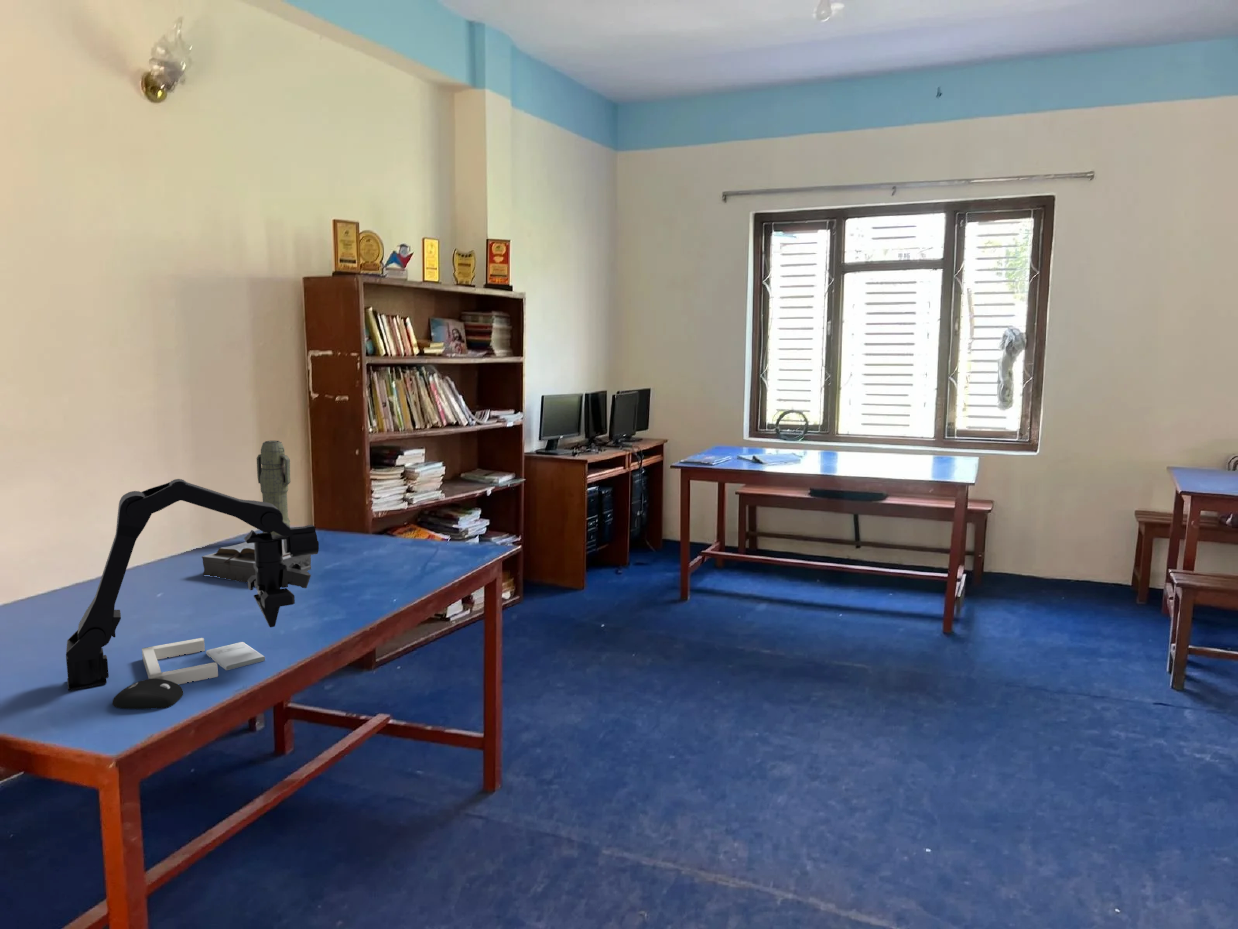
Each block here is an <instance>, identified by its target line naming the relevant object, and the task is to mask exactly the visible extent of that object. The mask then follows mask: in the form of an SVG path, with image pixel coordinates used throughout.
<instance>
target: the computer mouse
mask: <svg viewBox="0 0 1238 929" xmlns="http://www.w3.org/2000/svg"><path fill="white" fill-rule="evenodd" d="M183 696H184V690H183V687H182V686H181V684H179V685H178V684H176V683H174V682H171V681H168V680H164V679H157V678H153V679H149V678H145V679H142V680H139V681H137V682H134V683H132V684H130V685H128V686H127V687H125V688H123V689H122V690H121V691H119V692H118V693H117V694H115V696H113V698H112V702H111V703H112V706H113V707H114V708H116V709H123V710H124V709H127V710H151V708H157V709H167V708H170V707H172V706H174V705H175V704H176V703H177V702H179V700H181V698H182V697H183ZM171 705H172V706H171ZM169 706H170V707H169ZM166 707H167V708H166Z"/></svg>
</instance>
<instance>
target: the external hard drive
mask: <svg viewBox="0 0 1238 929" xmlns="http://www.w3.org/2000/svg"><path fill="white" fill-rule="evenodd" d="M205 654H206V655H207V657H209V658H210V657H211V658H212V659H211V658H210V659H211V660H213V661H214V662H216V663H217V665H218V666H220V667H221V668H223V669H224V670H225V671H229V670H234V669H237V668H242V667H244V666H245V667H246V666H249V665H254V664H257V663H261V662H265V661H266V656H264V655H263V654H262V653H260V652H259V651H257V650H256V649H254V648H252V647H251V646H250V645H248V644H246V643H245V642H244V641H239V642H236V643H232V644H228V645H222V646H219V647H215V648H210V649H207V650H205Z"/></svg>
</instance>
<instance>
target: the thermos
mask: <svg viewBox="0 0 1238 929" xmlns="http://www.w3.org/2000/svg"><path fill="white" fill-rule="evenodd" d="M285 450H286V449H285V447H284V444H283V443H282V441H280V440H265V441H264V442H262V445H261V448H260V453H259V454H258V455H257V457H256V472H257V473H256V474H257V482H258V484H260V492H261V494H262V502H267V503H271V504H273V505H274V506H275V507H276V508H277V509H278V510H279V511H280V512H281V513H282V515H283V522H284V523H286V524H287V525H288V526H289V527H290V528H291V524H290V523H291V521H290V519H289V513H288V511H289V509H288V491H289V485H290V484H291V463H290V462H291V460H290V458H289V456H288V455H286V454H285ZM262 533H266V532H263V531H262ZM270 533H271V535H280V534H278V533H276V532H274V531H273V532H270Z"/></svg>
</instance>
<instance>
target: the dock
mask: <svg viewBox="0 0 1238 929" xmlns="http://www.w3.org/2000/svg"><path fill="white" fill-rule="evenodd" d="M200 651H202V652H206V645H205V638H204V637H199V638H193V639H187V640H182V641H176V642H170V643H165V644H158V645H153V646H148V647H142V648H141V655H142V656H141V657H142V661H143V665H144V669H145V671H146V672H145V673H146V674H147V679H153V678H157V679H164V680H168V681H171V682H174V683H176V684H179V685H185V684H188V683H187V682H189V683H192V681H194V682H198V681H203V680H208V678H209V679H212V678H218V677H219V671H218V668H219V667H218V666H219V665H218V663H216V662H215V661H214V662H209V663H203V664H199V665H192V666H187V667H183V668H179V669H174V670H173V669H172V670H168V671H163V672H162V670H161V667H160V665H159V661H158V660H163V659H168V658H167V657H169V658H174V657H179V655H180V656H185V655H184V654H186V655H189V654H196V653H201V652H200Z"/></svg>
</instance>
